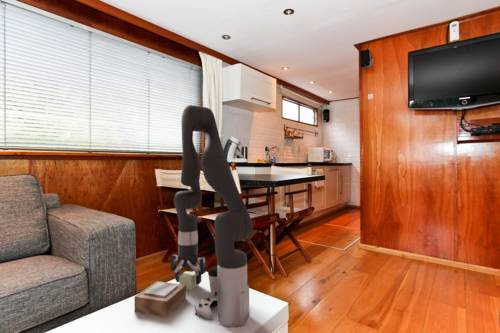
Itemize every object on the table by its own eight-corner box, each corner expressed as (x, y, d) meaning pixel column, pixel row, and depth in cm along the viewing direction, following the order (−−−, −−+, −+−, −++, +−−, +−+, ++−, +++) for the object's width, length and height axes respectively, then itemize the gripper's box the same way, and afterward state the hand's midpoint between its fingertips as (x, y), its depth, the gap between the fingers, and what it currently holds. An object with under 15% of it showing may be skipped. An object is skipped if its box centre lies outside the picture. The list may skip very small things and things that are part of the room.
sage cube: (197, 284, 108) (197, 272, 108) (191, 290, 104) (191, 277, 104) (186, 283, 110) (185, 271, 110) (179, 288, 105) (179, 276, 105)
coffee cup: (217, 303, 94) (217, 274, 94) (203, 296, 99) (203, 269, 98) (231, 295, 100) (231, 268, 99) (217, 289, 104) (217, 263, 104)
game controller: (213, 317, 84) (200, 302, 85) (201, 328, 85) (189, 313, 86) (223, 302, 93) (211, 288, 94) (212, 312, 94) (200, 298, 95)
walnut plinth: (186, 299, 97) (186, 283, 97) (166, 317, 85) (166, 299, 85) (156, 294, 100) (156, 279, 100) (134, 311, 89) (134, 294, 89)
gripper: (208, 240, 108) (208, 280, 109) (177, 237, 112) (177, 276, 113) (200, 246, 101) (200, 289, 101) (166, 242, 105) (166, 284, 105)
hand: (188, 282), depth 107 cm, fingers open, 8 cm apart
